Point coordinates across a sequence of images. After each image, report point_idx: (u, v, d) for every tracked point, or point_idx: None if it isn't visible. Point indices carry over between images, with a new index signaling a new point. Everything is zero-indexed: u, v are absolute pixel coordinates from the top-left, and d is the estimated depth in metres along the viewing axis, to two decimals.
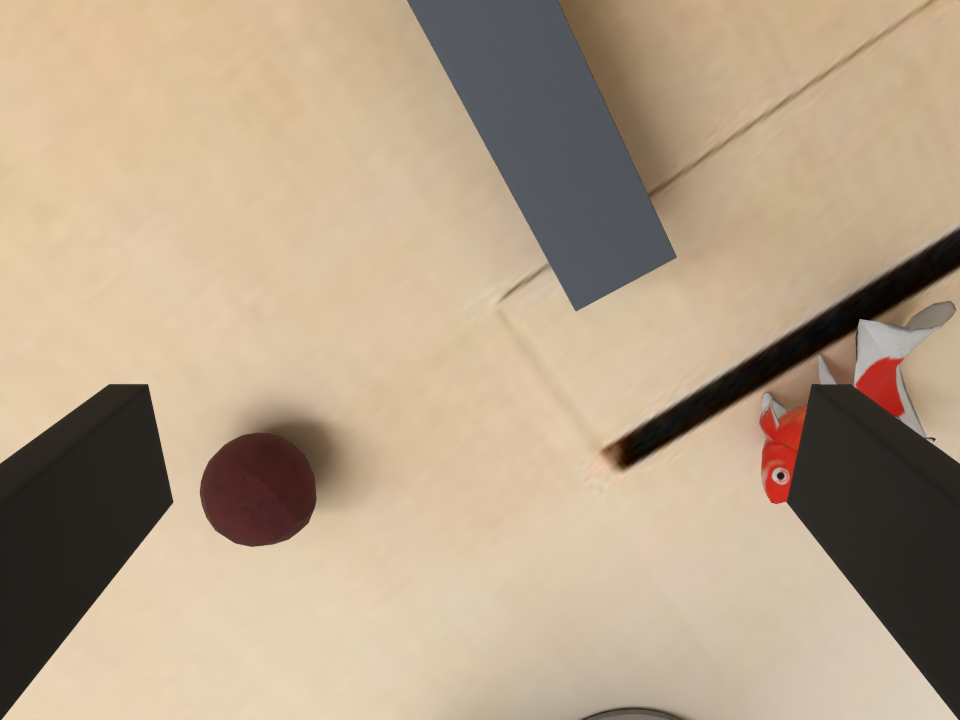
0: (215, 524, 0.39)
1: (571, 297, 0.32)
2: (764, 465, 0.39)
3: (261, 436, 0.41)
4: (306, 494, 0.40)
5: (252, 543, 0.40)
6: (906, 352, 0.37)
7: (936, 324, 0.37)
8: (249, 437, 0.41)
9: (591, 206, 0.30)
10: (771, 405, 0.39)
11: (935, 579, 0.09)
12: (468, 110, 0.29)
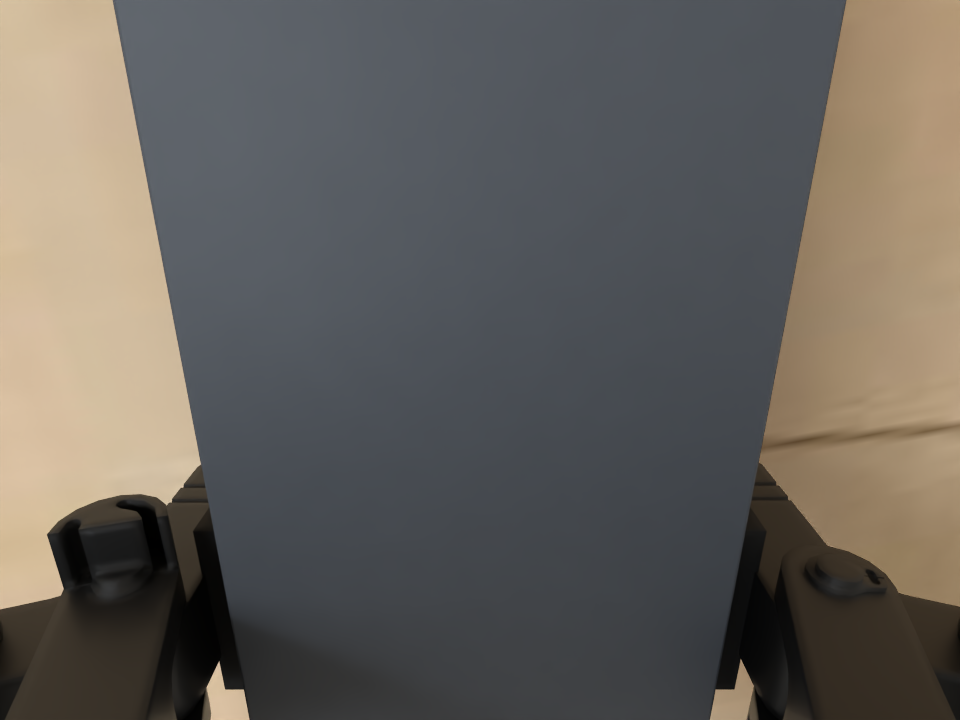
0: None
1: None
2: None
3: None
4: None
5: None
6: None
7: None
8: None
9: (500, 602, 0.07)
10: None
11: None
12: None
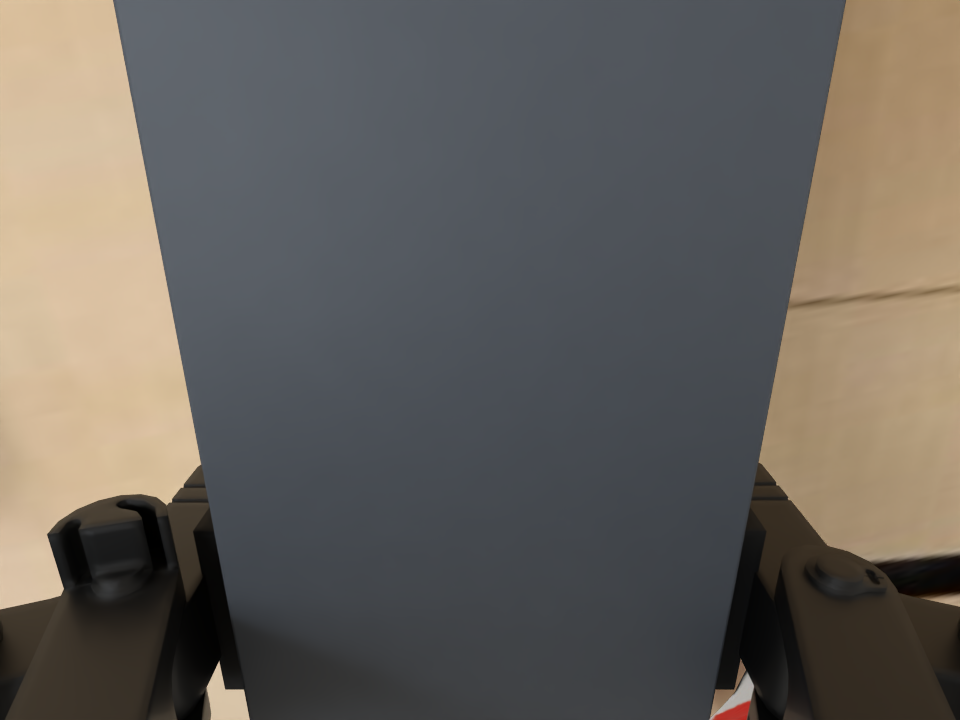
0: None
1: None
2: None
3: None
4: None
5: None
6: None
7: None
8: None
9: (499, 600, 0.07)
10: None
11: None
12: None
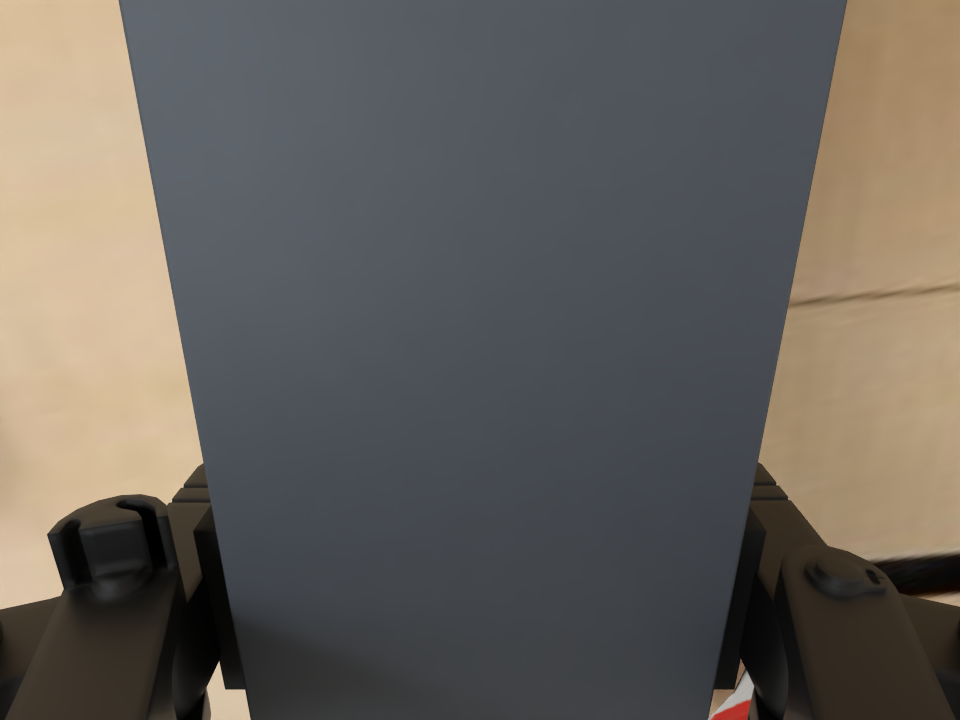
0: None
1: None
2: None
3: None
4: None
5: None
6: None
7: None
8: None
9: (500, 598, 0.07)
10: None
11: None
12: None
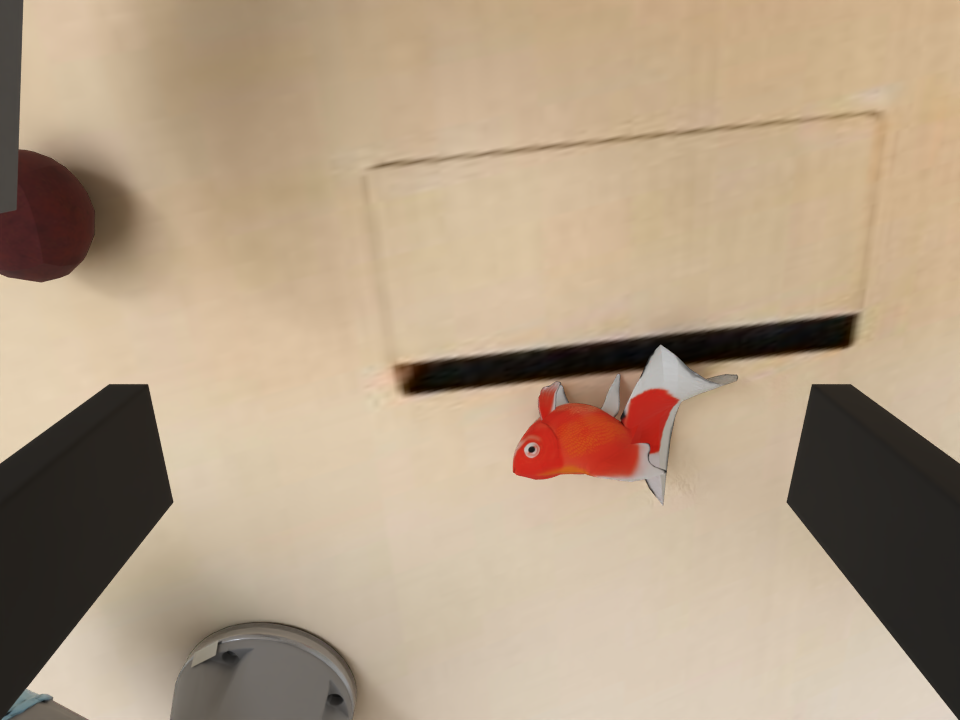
0: None
1: None
2: (524, 437, 0.40)
3: (55, 162, 0.36)
4: (71, 242, 0.36)
5: None
6: (682, 395, 0.40)
7: None
8: (40, 155, 0.36)
9: None
10: (556, 388, 0.40)
11: (935, 579, 0.09)
12: None
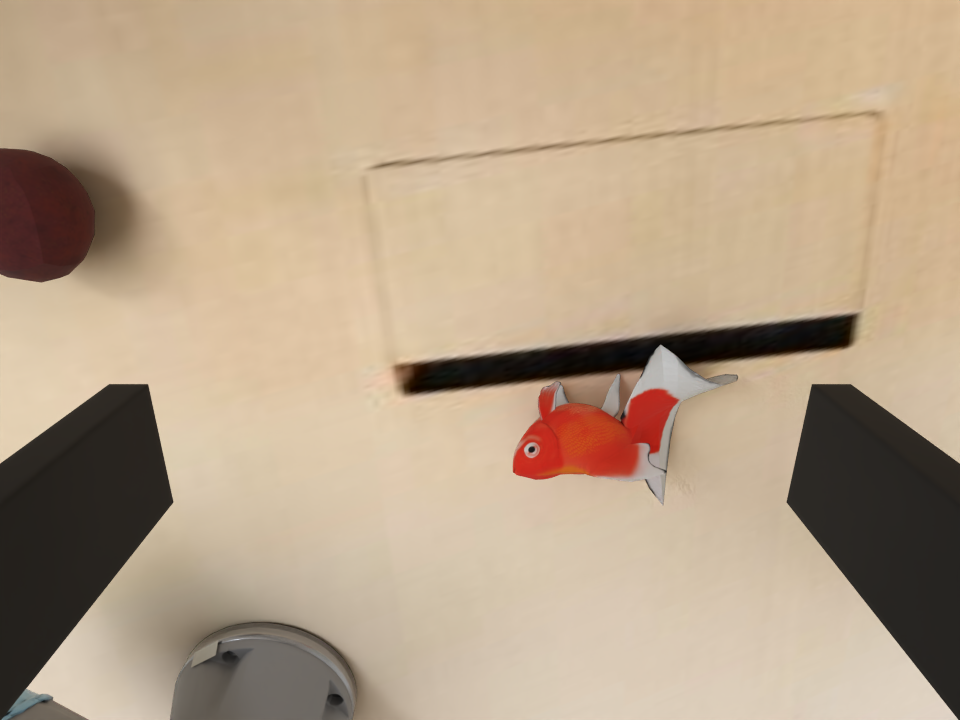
0: None
1: None
2: (524, 437, 0.40)
3: (55, 162, 0.36)
4: (71, 242, 0.36)
5: None
6: (682, 395, 0.40)
7: None
8: (40, 155, 0.36)
9: None
10: (556, 388, 0.40)
11: (935, 579, 0.09)
12: None
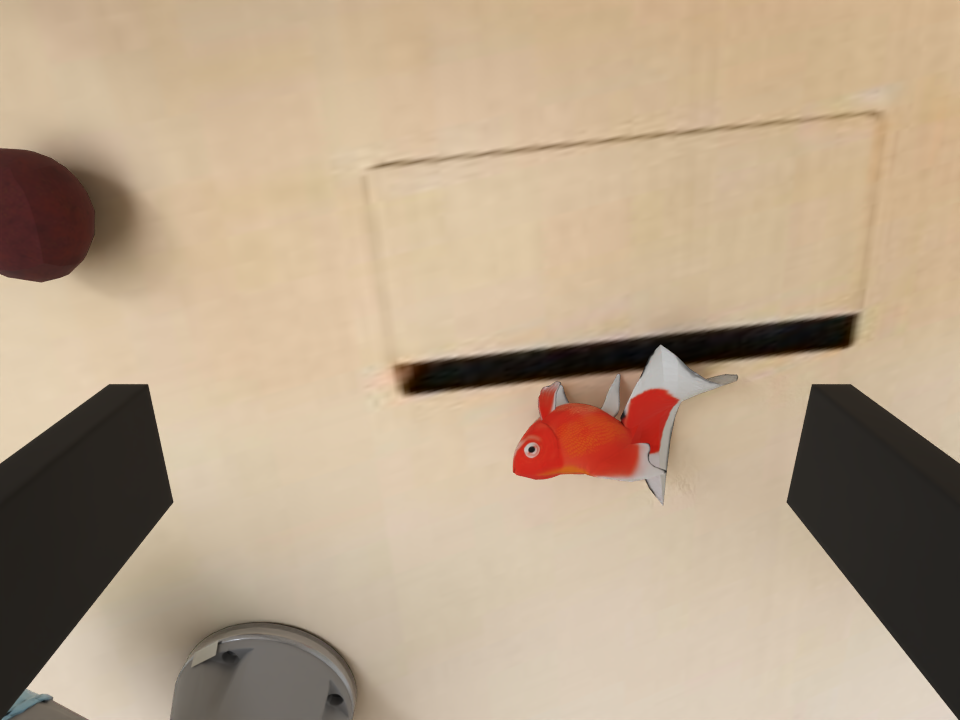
0: None
1: None
2: (524, 437, 0.40)
3: (55, 162, 0.36)
4: (71, 242, 0.36)
5: None
6: (682, 395, 0.40)
7: None
8: (40, 155, 0.36)
9: None
10: (556, 388, 0.40)
11: (935, 579, 0.09)
12: None
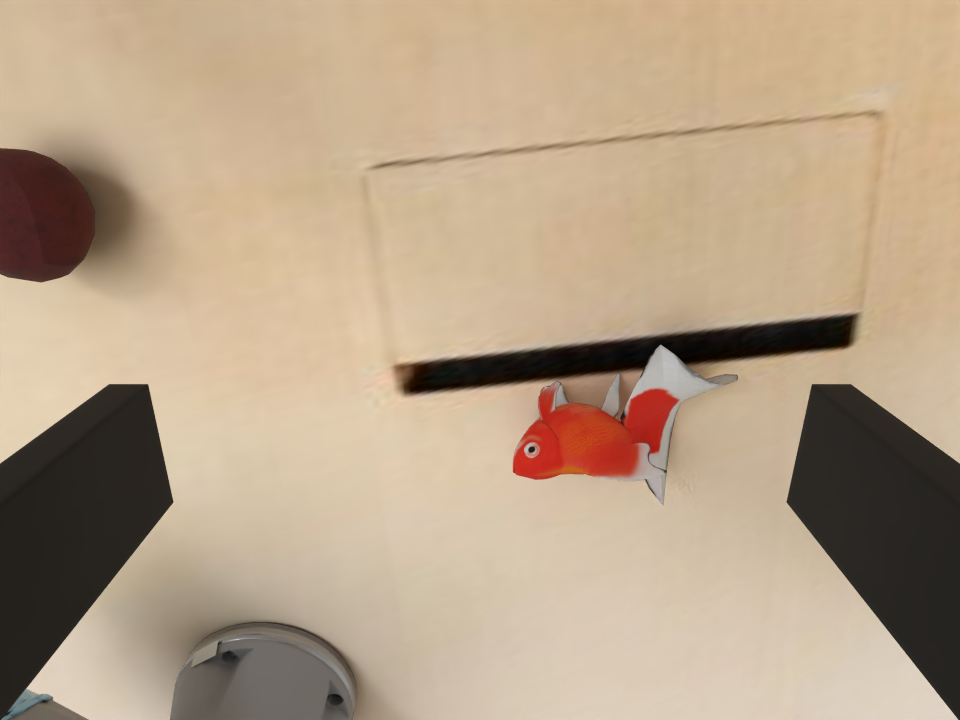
0: None
1: None
2: (524, 437, 0.40)
3: (55, 162, 0.36)
4: (71, 242, 0.36)
5: None
6: (682, 395, 0.40)
7: None
8: (40, 155, 0.36)
9: None
10: (556, 388, 0.40)
11: (935, 579, 0.09)
12: None
